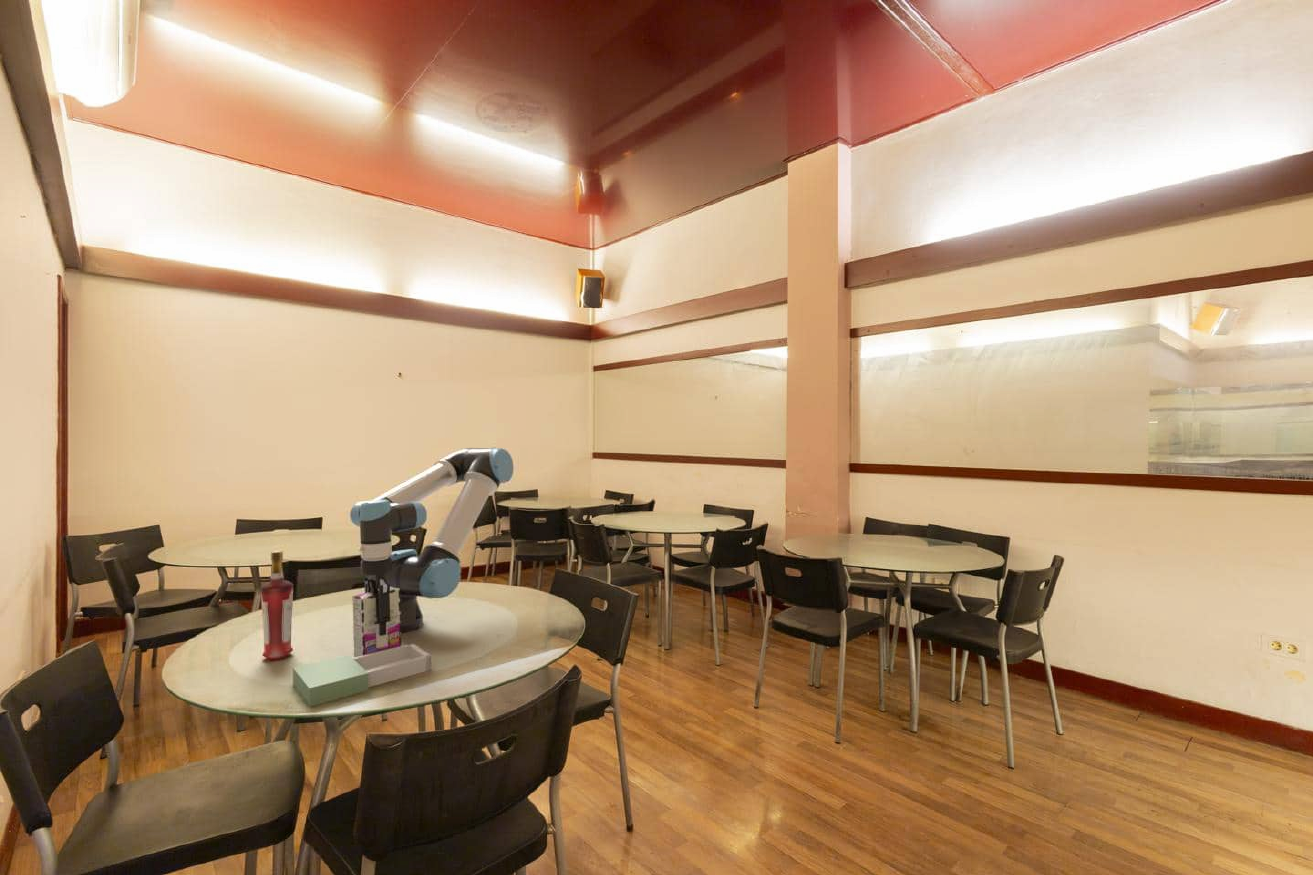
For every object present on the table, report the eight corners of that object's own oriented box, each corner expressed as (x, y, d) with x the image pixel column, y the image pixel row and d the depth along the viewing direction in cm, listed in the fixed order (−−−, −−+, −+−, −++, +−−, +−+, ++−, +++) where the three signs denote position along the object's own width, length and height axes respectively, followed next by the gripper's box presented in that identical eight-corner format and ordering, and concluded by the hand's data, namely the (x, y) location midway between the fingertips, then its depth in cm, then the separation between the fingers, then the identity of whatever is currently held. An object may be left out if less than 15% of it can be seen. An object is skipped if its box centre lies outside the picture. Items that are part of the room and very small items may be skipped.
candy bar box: (391, 644, 166) (390, 585, 165) (401, 647, 163) (401, 588, 163) (352, 657, 156) (351, 595, 156) (363, 661, 154) (362, 598, 153)
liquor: (264, 654, 159) (263, 550, 159) (296, 650, 162) (295, 548, 162) (258, 663, 153) (257, 555, 153) (291, 659, 156) (290, 553, 156)
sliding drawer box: (293, 684, 140) (292, 667, 140) (410, 654, 158) (409, 639, 158) (309, 706, 128) (309, 688, 128) (434, 672, 147) (433, 655, 147)
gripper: (350, 554, 164) (352, 638, 164) (372, 565, 150) (374, 656, 150) (379, 550, 169) (380, 631, 169) (403, 561, 155) (404, 649, 155)
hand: (377, 643), depth 160 cm, fingers closed on candy bar box, 6 cm apart
